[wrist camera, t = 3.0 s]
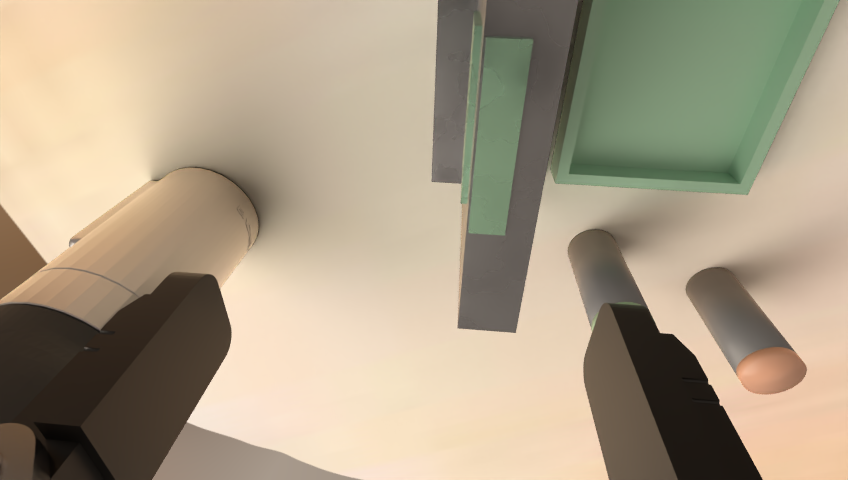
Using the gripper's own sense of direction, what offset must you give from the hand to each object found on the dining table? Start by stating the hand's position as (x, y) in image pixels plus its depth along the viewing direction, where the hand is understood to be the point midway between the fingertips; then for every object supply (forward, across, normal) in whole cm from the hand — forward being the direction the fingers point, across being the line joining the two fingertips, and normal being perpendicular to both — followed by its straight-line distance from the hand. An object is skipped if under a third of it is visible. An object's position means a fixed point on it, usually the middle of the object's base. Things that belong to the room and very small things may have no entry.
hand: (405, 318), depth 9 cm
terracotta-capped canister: (+26, +24, -18) cm, 40 cm away
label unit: (+26, +3, 0) cm, 26 cm away
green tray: (+26, +15, -1) cm, 30 cm away
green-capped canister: (+26, +13, -15) cm, 33 cm away
